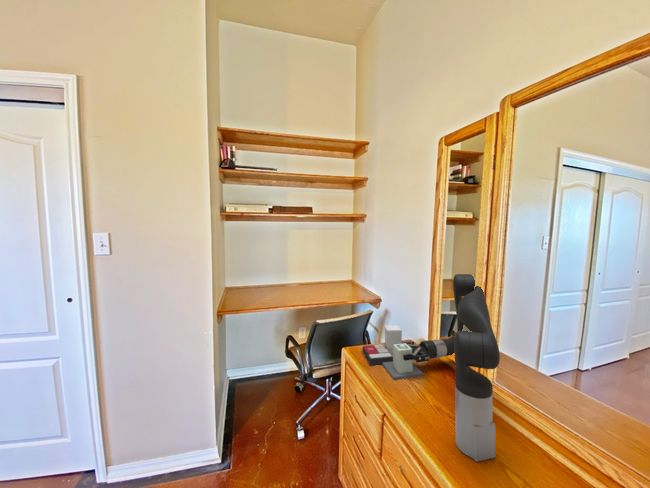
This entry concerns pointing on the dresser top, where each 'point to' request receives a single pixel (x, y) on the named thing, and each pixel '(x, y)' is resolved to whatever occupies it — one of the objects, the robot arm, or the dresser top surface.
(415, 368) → the post stand
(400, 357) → the sleeve
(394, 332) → the supplement box
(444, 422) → the dresser top surface
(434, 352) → the robot arm
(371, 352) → the dark gray paneled box
